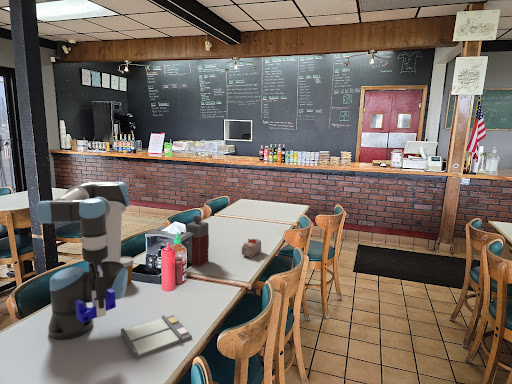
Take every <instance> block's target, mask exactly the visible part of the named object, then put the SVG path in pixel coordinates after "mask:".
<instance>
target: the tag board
mask: <svg viewBox="0 0 512 384" xmlns="http://www.w3.org/2000/svg"><path fill="white" fill-rule="evenodd" d="M120 334H121V337H122V339H123V340H124V342H125V343H126V346H127V347H128V349H129V350H130V352H131V354H132V356H133V358H134V359H135V360H137V359H139V358H142V357H145V356H148V355H150V354H153V353H155V352H158V351H161V350H164V349H166V348H169V347H171V346H175V345H177V344H180V343H182V342H185V341H187V340H188V341H189V340H190V339H192V338H193V335H192V334H191V333H190V331H189V330H188V329H186V327H185V326H184V325H183V323H181V322H180V321H179V319H178V318H177V317H176V316H175V315H174V314H173V315H169V316H166V315H161V318H159V319H158V318H157V319H154V320H152V321H149V322H146V323H142V324H139V325H136V326H133V327H130V328H127V329H125V328H124V327H123V328H120Z"/></svg>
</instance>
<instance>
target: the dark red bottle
mask: <svg viewBox="0 0 512 384" xmlns="http://www.w3.org/2000/svg"><path fill="white" fill-rule="evenodd" d="M192 219H193V221H191V222H189V223H187V224H186V228H185V229H186V233H187V232H191V233H193V237H192V264H193V265H192V266H196V267H201V266H203V265H205V264H206V263H208V262H209V246H210V243H209V242H210V239H209V238H210V236H209V222H207V221H202V219H203V218H202V216H201V215H200V214H196V215H194V216H193V218H192Z"/></svg>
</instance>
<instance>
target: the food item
mask: <svg viewBox="0 0 512 384" xmlns="http://www.w3.org/2000/svg"><path fill="white" fill-rule="evenodd" d="M261 252H262V240H260V239H258V238H251V239H250V238H248V239H247V242H244V243H243V245H242V246H241V255H242V256H244V257H246V258H249V259H252V258H254V257H255V256H256V255H258V254H259V253H261Z"/></svg>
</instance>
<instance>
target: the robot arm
mask: <svg viewBox="0 0 512 384" xmlns="http://www.w3.org/2000/svg"><path fill="white" fill-rule="evenodd" d="M128 207H130V199H129V193H128V187H127V183H126V182H125V181H88V182H83V183H80V184H77V185H74V186H72V187H70V188H68V189H67V190H66V191H65V193H64V194H62V195H61V196H59V197H58V198H56V199H53V200H40V201H38V202H37V204H36V206H35V217H36V220H37V222H38V223H39V224H50V225H51V224H59V223H79V224H80V226H79V227H80V237H81V238H79V242H80V243H81V247H82V249H81V252H82V253H81V254H82V259H83V261H85V262H87V263H88V270H87V271H86V270H85V268H84V267H81V266H71V267H70V266H69V267H67V268H64V269H61V270H59V271H57V272H55V273H54V274H53V275H52V276H51V277H50V279H49V291H50V303H51V312H52V313H51V317H50V320H49V324H48V335H49V337H51V338H52V339H54V340H62V341H63V340H70V339H71V340H72V339H75V338H78V337H80V336H82V335H84V334H86V333H88V332H89V331H90V330H91V329H92V328H93V325H94V320H93V319H91V320H89V321H86V322H84V323H81V322H80V321H79V320H78V319H77V318H76V308H75V301H76V300H79V299H80V300H81V301H82V302H84V306H85V307H87V308H89V307H88V305H87V304H89V303H91V305H92V307H95V306H96V312H97V317H96V318H101V317H104V316H106V315H107V311H106V306H105V299H106V298H107V296H106V292H107V290H108V289H112V290H114V291H115V301H116V300H121V299H123V298H124V296H125V295H126V291H127V286H128V285H127V280H128V279H127V278H128V270H127V269H126V268H124V264H123V263H121V262H120V257H121V255H122V254H121V253H122V252H121V248H122V224H123V223H122V222H123V221H122V220H123V214H124V213H125V212H126V210H127V209H126V208H128Z"/></svg>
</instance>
